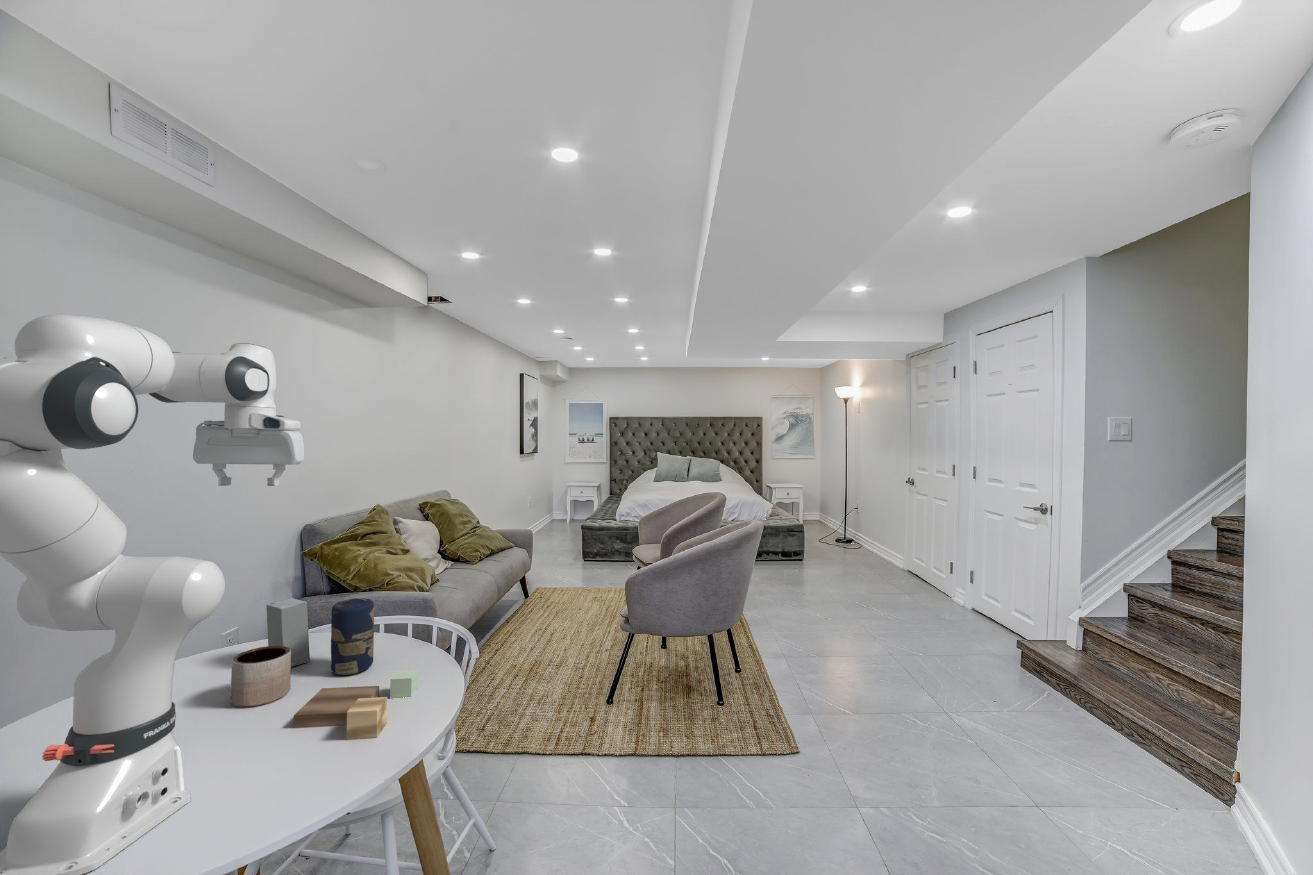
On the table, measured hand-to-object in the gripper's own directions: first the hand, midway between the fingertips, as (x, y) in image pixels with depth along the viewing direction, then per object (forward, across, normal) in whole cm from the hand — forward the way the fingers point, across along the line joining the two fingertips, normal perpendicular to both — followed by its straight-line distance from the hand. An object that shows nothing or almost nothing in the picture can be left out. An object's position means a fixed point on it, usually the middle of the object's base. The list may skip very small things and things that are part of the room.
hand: (249, 485), depth 115 cm
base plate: (+48, +20, -3) cm, 52 cm away
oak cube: (+48, +29, -12) cm, 57 cm away
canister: (+48, +14, +19) cm, 54 cm away
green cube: (+48, +31, +4) cm, 57 cm away
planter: (+48, 0, +6) cm, 49 cm away
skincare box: (+48, -4, +25) cm, 55 cm away
